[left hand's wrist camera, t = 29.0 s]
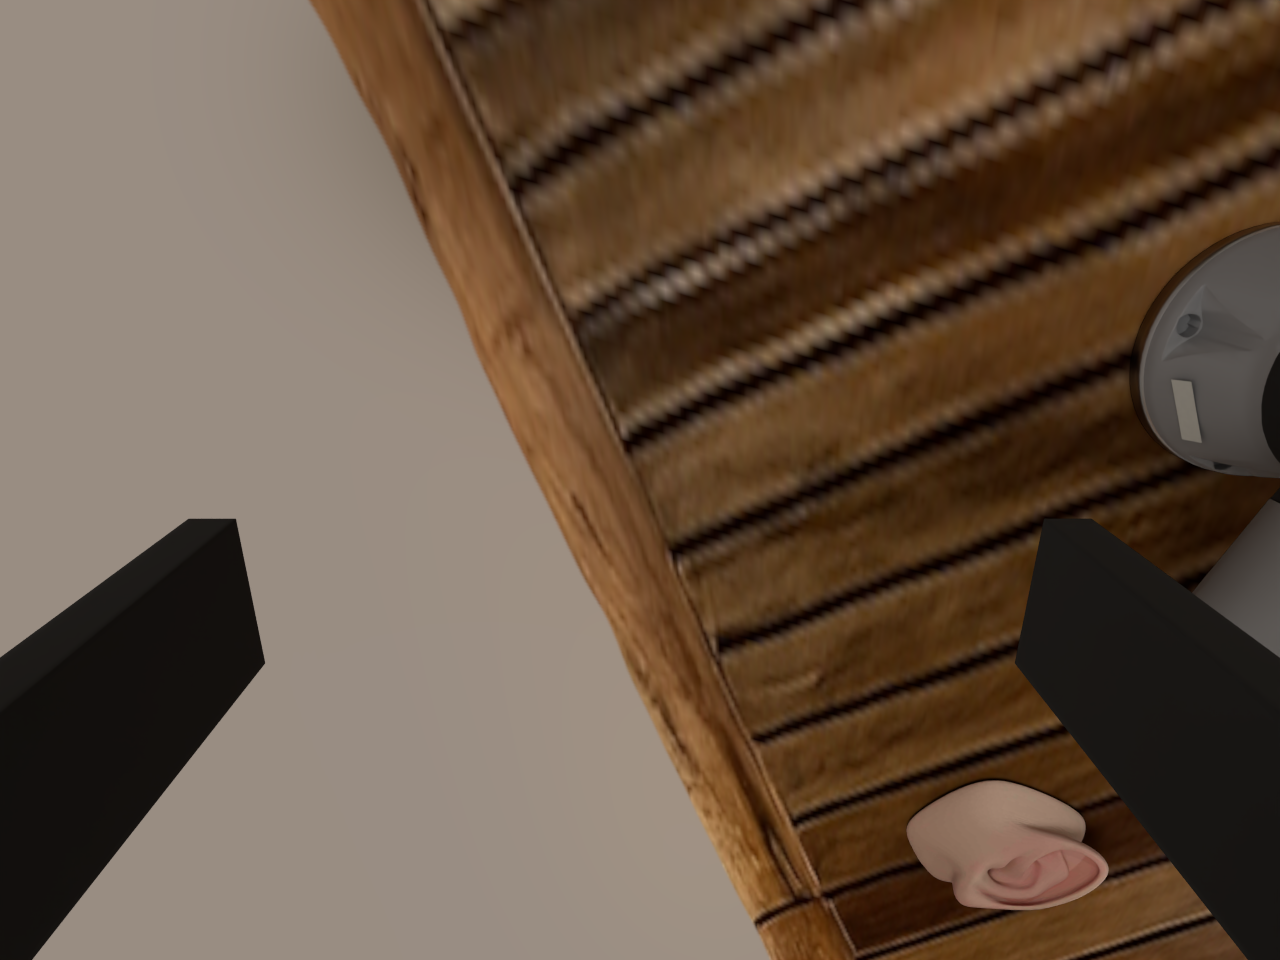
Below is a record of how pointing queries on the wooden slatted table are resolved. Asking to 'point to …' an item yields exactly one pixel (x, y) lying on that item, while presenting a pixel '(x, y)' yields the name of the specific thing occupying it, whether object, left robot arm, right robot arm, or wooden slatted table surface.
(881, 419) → the wooden slatted table surface
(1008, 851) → the anatomical model
